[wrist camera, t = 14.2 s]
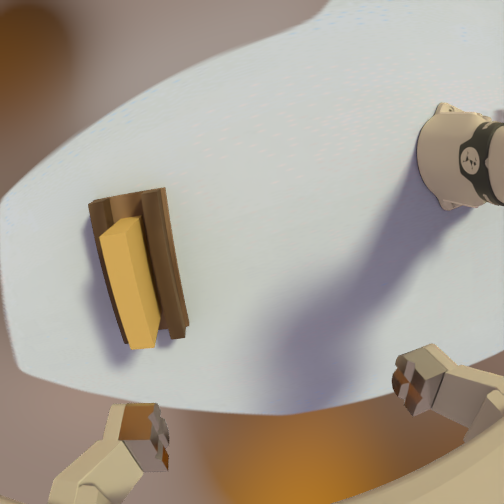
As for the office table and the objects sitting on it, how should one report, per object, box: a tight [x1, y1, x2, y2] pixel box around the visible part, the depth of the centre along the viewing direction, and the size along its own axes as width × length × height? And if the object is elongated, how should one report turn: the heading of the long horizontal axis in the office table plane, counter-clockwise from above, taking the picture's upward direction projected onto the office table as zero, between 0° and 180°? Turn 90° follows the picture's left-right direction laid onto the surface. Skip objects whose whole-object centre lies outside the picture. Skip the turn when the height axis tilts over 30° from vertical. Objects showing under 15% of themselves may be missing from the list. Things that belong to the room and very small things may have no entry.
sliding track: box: [88, 187, 189, 344], centre depth 39 cm, size 10×20×4 cm, turn 5°
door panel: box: [99, 215, 162, 350], centre depth 36 cm, size 3×14×9 cm, turn 5°
